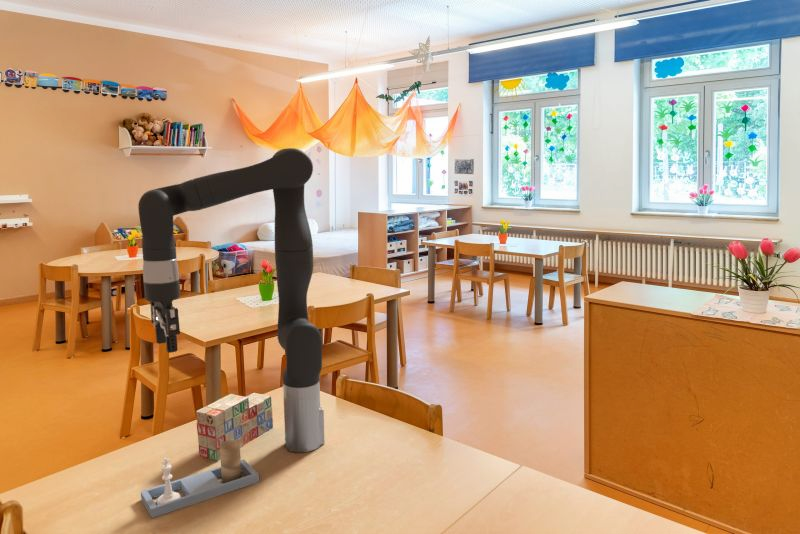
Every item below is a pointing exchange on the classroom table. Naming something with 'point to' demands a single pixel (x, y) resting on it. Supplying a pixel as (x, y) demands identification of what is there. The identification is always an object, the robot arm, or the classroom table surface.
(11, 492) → the classroom table surface
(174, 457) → the classroom table surface
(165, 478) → the chess piece
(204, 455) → the stack of blocks
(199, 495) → the blue-grey slotted tray
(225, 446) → the tan brown upright column
